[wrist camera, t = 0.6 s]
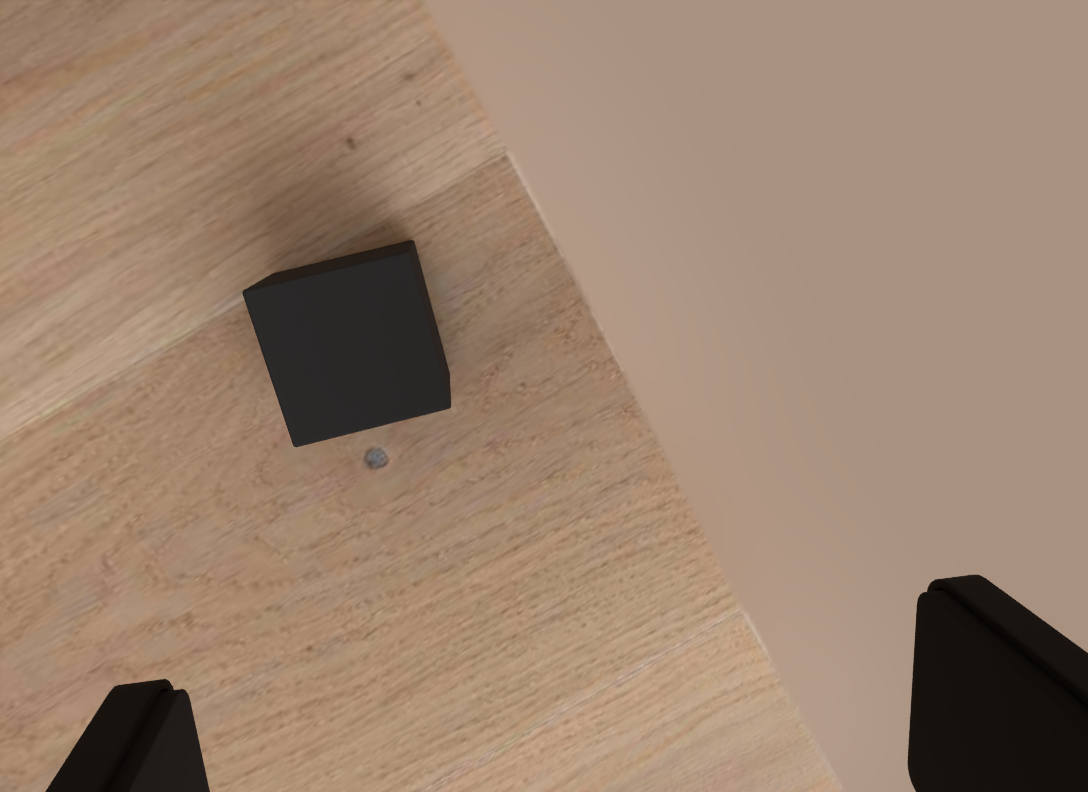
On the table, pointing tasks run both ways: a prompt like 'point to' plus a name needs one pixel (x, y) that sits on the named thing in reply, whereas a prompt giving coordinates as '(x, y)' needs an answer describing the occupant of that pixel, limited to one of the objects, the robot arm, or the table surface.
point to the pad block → (351, 343)
